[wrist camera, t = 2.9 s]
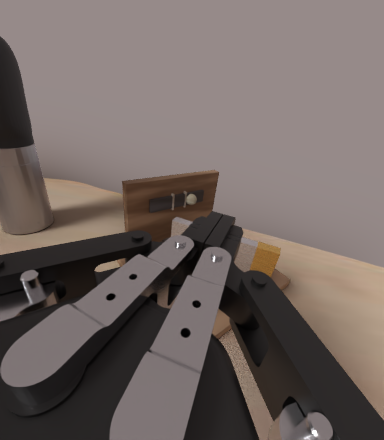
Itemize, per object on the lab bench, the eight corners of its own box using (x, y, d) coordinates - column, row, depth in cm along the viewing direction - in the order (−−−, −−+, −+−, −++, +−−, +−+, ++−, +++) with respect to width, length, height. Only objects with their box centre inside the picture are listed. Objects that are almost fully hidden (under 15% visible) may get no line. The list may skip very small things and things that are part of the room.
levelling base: (116, 260, 40) (109, 182, 32) (210, 228, 53) (220, 169, 45) (182, 365, 25) (197, 270, 17) (287, 285, 39) (322, 212, 31)
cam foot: (137, 276, 34) (136, 225, 29) (167, 244, 42) (169, 201, 38) (256, 326, 29) (278, 275, 24) (263, 279, 37) (281, 233, 32)
